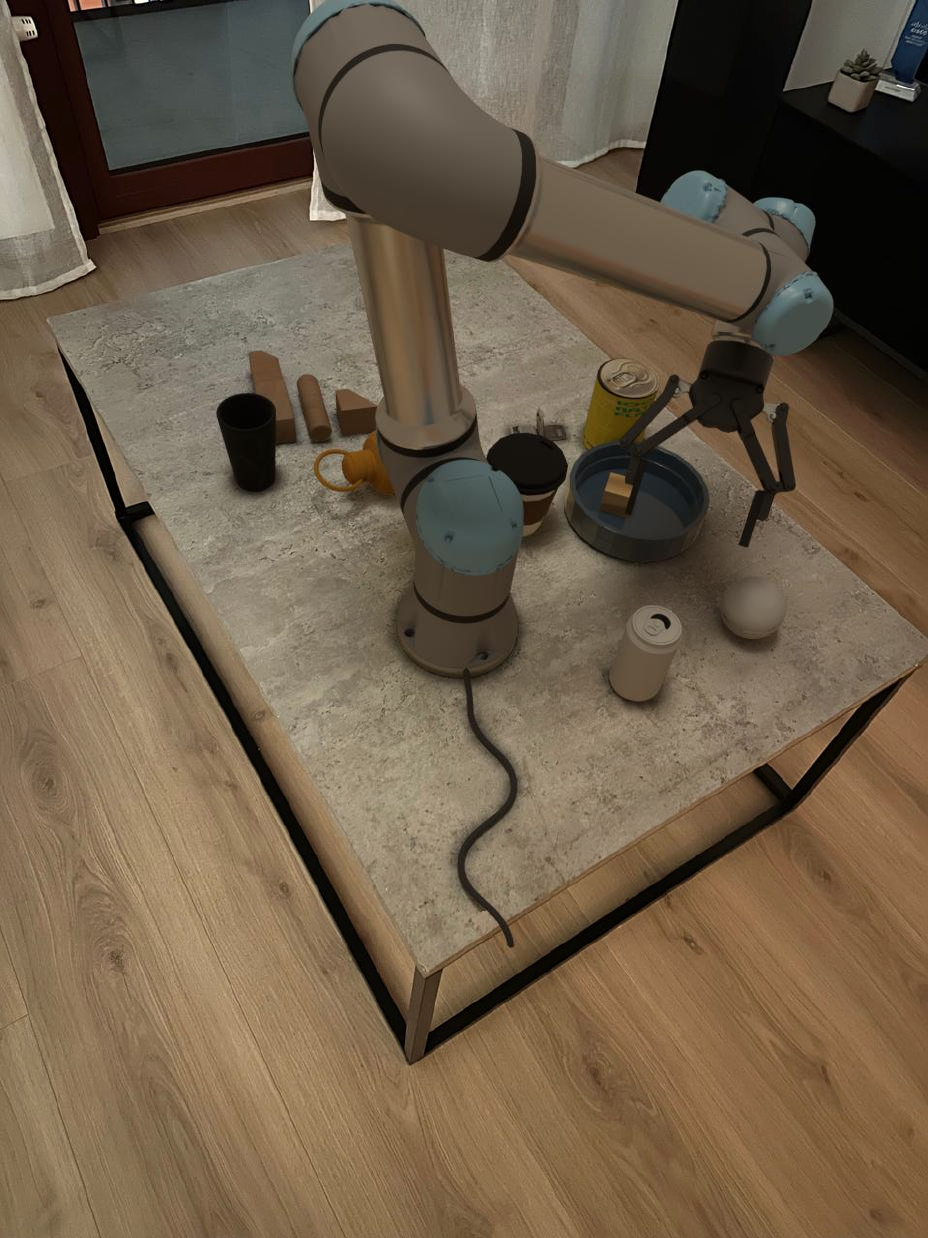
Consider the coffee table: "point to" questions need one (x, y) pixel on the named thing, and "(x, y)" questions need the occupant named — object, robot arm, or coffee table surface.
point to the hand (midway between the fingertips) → (684, 530)
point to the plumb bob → (360, 468)
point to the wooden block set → (308, 402)
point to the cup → (249, 439)
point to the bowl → (637, 504)
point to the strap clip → (540, 428)
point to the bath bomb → (753, 607)
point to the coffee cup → (530, 472)
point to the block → (616, 495)
